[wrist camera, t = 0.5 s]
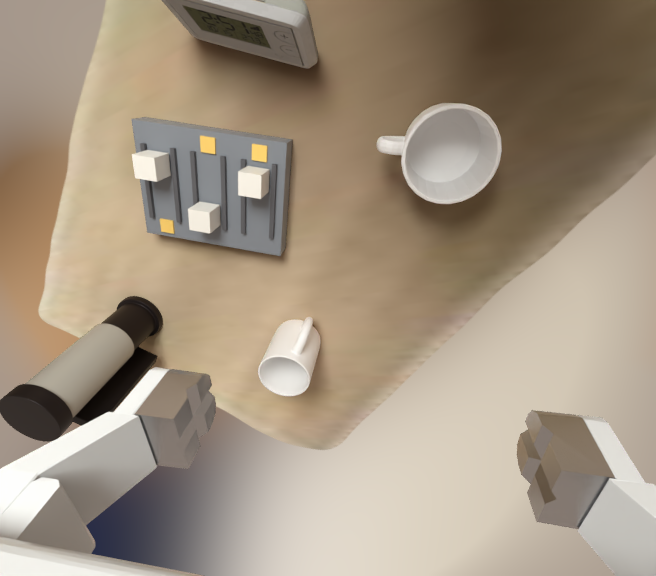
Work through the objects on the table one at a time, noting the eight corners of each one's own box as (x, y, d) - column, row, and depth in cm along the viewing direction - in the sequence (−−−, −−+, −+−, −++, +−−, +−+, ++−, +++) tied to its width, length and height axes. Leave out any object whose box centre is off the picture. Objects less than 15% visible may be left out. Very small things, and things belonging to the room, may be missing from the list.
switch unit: (144, 117, 51) (128, 119, 48) (292, 139, 50) (285, 143, 47) (158, 225, 59) (145, 233, 56) (285, 248, 58) (279, 257, 55)
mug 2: (498, 106, 44) (518, 111, 37) (470, 193, 50) (483, 212, 43) (387, 89, 45) (385, 92, 38) (371, 176, 51) (367, 192, 44)
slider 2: (199, 201, 53) (187, 208, 50) (220, 204, 52) (209, 212, 49) (200, 221, 54) (189, 229, 51) (220, 224, 54) (210, 233, 51)
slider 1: (147, 149, 50) (131, 154, 47) (168, 153, 50) (154, 158, 47) (150, 172, 52) (135, 178, 49) (170, 175, 51) (156, 181, 48)
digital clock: (187, 32, 46) (135, 20, 36) (205, -59, 41) (151, -97, 32) (306, 94, 47) (285, 99, 38) (337, 14, 42) (320, -4, 33)
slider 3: (247, 165, 49) (237, 171, 46) (269, 169, 49) (261, 175, 46) (247, 188, 51) (238, 195, 48) (268, 191, 50) (260, 199, 47)
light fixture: (176, 313, 68) (77, 421, 47) (163, 353, 73) (69, 465, 52) (114, 283, 67) (-17, 379, 46) (106, 325, 72) (-15, 429, 51)
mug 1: (294, 293, 62) (277, 330, 53) (338, 315, 62) (329, 354, 54) (269, 342, 68) (250, 382, 59) (310, 361, 69) (297, 404, 60)
